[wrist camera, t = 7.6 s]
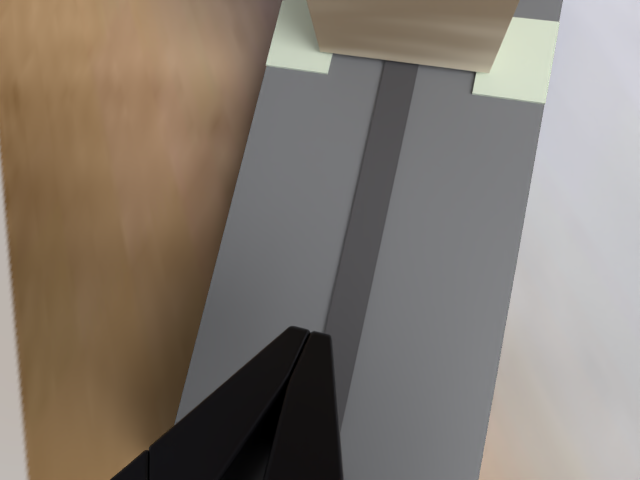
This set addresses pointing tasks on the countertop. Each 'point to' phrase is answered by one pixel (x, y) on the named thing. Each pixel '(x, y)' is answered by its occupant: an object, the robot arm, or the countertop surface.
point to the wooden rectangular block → (415, 30)
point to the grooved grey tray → (383, 237)
